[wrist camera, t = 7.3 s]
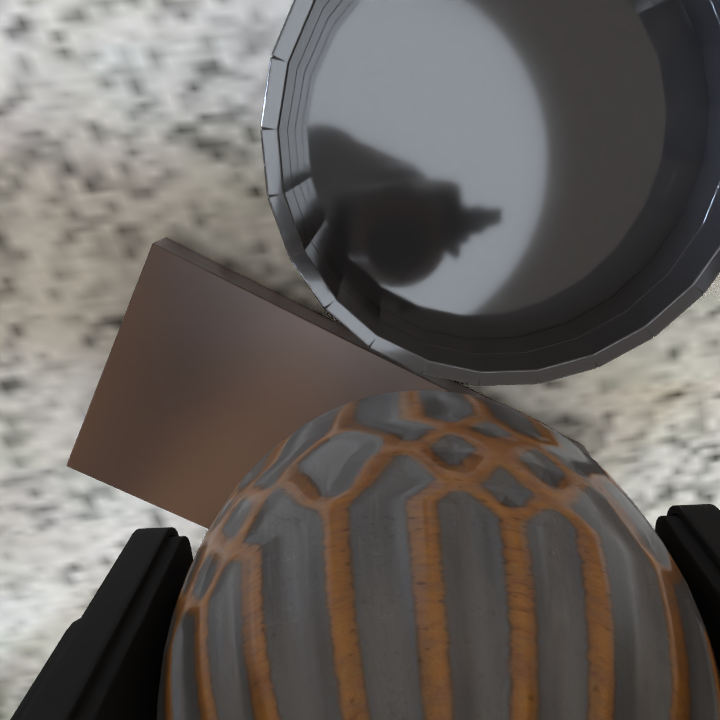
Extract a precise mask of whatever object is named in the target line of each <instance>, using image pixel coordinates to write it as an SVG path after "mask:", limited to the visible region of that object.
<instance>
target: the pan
mask: <svg viewBox="0 0 720 720" xmlns="http://www.w3.org/2000/svg"><path fill="white" fill-rule="evenodd" d="M261 128H262V129H261V141H262V151H263V161H264V171H265V181H266V191H267V196H269V197H268V200H269V203H270V206H271V209H272V212H273V214H274V217H275V220H276V223H277V225H278V228H279V231H280V234H281V236H282V239H283V242H284V245H285V247H286V250H287V253H288V256H289V257H290V260H291V261H292V263H293V264H294V266H295V267H296V268H297V270H298V271H299V273H300V274H301V276H302V277H303V279H304V280H305V282H306V283H307V285H308V286H309V287H310V289H311V290H312V292H313V293H314V295H315V296H316V298H317V299H318V301H319V302H320V303H321V305H322V306H323V308H325V310H326V311H327V312H329V313H330V314H331V315H332V316H333V317H334V318H336V319H337V320H338V321H339V322H340V323H341V324H342V325H344V326H345V327H346V328H347V329H348V330H349V331H350V332H352V333H353V334H354V335H355V336H356V337H357V338H359V339H360V340H361V341H362V342H363V343H364V344H365V345H367V346H368V347H370V349H372V350H374V351H376V352H378V353H381V354H383V355H385V356H387V357H389V358H391V359H393V360H395V361H397V362H399V363H401V364H403V365H405V366H407V367H409V368H411V369H413V370H415V371H417V372H419V373H423V374H426V375H430V376H435V377H439V378H444V379H449V380H453V381H458V382H463V383H467V384H472V385H479V386H492V385H524V384H538V383H544V382H548V381H551V380H555V379H559V378H562V377H566V376H570V375H573V374H577V373H581V372H584V371H588V370H592V369H595V368H597V367H600V366H602V365H604V364H606V363H608V362H609V361H611V360H613V359H615V358H617V357H619V356H621V355H622V354H624V353H626V352H628V351H630V350H632V349H634V348H635V347H637V346H639V345H641V344H643V343H645V342H647V341H648V340H650V339H652V338H653V337H655V336H656V335H657V334H659V333H660V332H661V331H662V330H663V329H664V328H666V327H667V326H668V325H669V324H670V323H671V322H672V321H674V320H675V319H676V318H677V317H678V316H679V315H680V314H682V313H683V312H684V311H685V310H686V309H687V308H689V307H690V306H691V305H692V304H693V303H694V302H695V301H697V300H698V299H699V298H700V297H701V296H702V295H703V293H705V292H706V291H707V289H708V288H709V287H710V285H711V284H712V283H713V281H714V280H715V279H716V277H717V276H718V274H719V273H720V0H294V1H293V3H292V6H291V8H290V11H289V13H288V15H287V18H286V20H285V23H284V25H283V28H282V30H281V32H280V35H279V37H278V40H277V42H276V45H275V47H274V49H273V52H272V57H271V58H270V65H269V72H268V78H267V85H266V92H265V99H264V106H263V113H262V119H261Z"/></svg>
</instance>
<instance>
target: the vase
mask: <svg viewBox="0 0 720 720" xmlns="http://www.w3.org/2000/svg"><path fill="white" fill-rule="evenodd" d="M156 720H720V672H719V668H718V665H717V662H716V659H715V655H714V652H713V649H712V646H711V643H710V639H709V636H708V633H707V630H706V627H705V625H704V622H703V620H702V618H701V615H700V613H699V611H698V608H697V606H696V604H695V601H694V599H693V597H692V594H691V592H690V590H689V587H688V585H687V583H686V581H685V579H684V578H683V576H682V574H681V572H680V570H679V569H678V567H677V565H676V564H675V562H674V560H673V559H672V557H671V555H670V553H669V552H668V550H667V548H666V547H665V545H664V543H663V542H662V541H661V539H660V538H659V536H658V535H657V533H656V532H655V530H654V529H653V528H652V526H651V525H650V524H649V522H648V521H647V520H646V518H645V517H644V515H643V514H642V513H641V511H640V510H639V509H638V507H637V506H636V505H635V504H634V502H633V501H632V500H631V499H630V498H629V497H628V495H627V494H626V493H625V492H624V491H623V490H622V488H621V487H620V486H619V485H618V484H617V483H616V482H615V481H614V479H613V478H612V477H611V476H610V475H609V474H608V473H607V472H606V471H605V470H604V469H603V468H602V467H601V466H600V465H599V464H598V463H597V462H596V461H595V460H593V459H592V458H591V457H590V456H589V455H587V454H586V453H585V452H584V451H583V450H581V449H580V448H578V447H577V446H576V445H574V444H573V443H572V442H570V441H569V440H568V439H566V438H565V437H563V436H562V435H560V434H559V433H558V432H556V431H555V430H553V429H552V428H550V427H548V426H546V425H545V424H543V423H541V422H539V421H538V420H535V419H533V418H531V417H529V416H527V415H525V414H523V413H521V412H519V411H517V410H514V409H512V408H510V407H507V406H505V405H502V404H500V403H497V402H494V401H490V400H487V399H484V398H480V397H476V396H471V395H467V394H461V393H454V392H446V391H433V390H415V391H401V392H393V393H386V394H380V395H376V396H371V397H367V398H363V399H360V400H357V401H353V402H350V403H348V404H345V405H342V406H340V407H337V408H335V409H333V410H331V411H328V412H326V413H324V414H322V415H320V416H319V417H317V418H315V419H313V420H311V421H310V422H308V423H307V424H305V425H304V426H302V427H301V428H299V429H298V430H296V431H295V432H293V433H292V434H291V435H289V436H288V437H286V438H285V439H284V440H282V441H281V442H280V443H279V444H277V445H276V446H275V447H274V448H272V449H271V450H270V451H269V452H268V453H267V454H266V455H265V456H264V457H263V458H262V459H261V460H260V461H259V462H258V463H257V464H256V465H255V466H254V467H253V468H252V469H251V470H250V471H249V472H248V474H247V475H246V476H245V477H244V478H243V479H242V480H241V481H240V483H239V484H238V485H237V486H236V488H235V489H234V490H233V492H232V493H231V494H230V496H229V497H228V498H227V500H226V502H225V503H224V505H223V507H222V508H221V510H220V512H219V513H218V515H217V517H216V518H215V520H214V521H213V523H212V525H211V526H210V528H209V530H208V531H207V533H206V535H205V537H204V540H203V542H202V544H201V546H200V548H199V550H198V552H197V554H196V556H195V558H194V560H193V562H192V564H191V566H190V568H189V571H188V573H187V576H186V579H185V581H184V584H183V587H182V589H181V592H180V595H179V597H178V600H177V603H176V606H175V608H174V611H173V615H172V619H171V623H170V627H169V631H168V636H167V640H166V645H165V649H164V654H163V661H162V667H161V675H160V683H159V691H158V701H157V719H156Z"/></svg>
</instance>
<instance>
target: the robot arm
mask: <svg viewBox="0 0 720 720" xmlns="http://www.w3.org/2000/svg"><path fill="white" fill-rule="evenodd" d="M655 532H656V533H657V535H658V536H659V538H660V539H661V541H662V542H663V543H664V545H665V547H666V548H667V550H668V552H669V553H670V555H671V557H672V559H673V560H674V562H675V564H676V565H677V567H678V569H679V570H680V572H681V574H682V576H683V578H684V579H685V581H686V583H687V585H688V587H689V590H690V592H691V594H692V597H693V599H694V601H695V604H696V606H697V608H698V611H699V613H700V615H701V618H702V620H703V622H704V625H705V627H706V630H707V633H708V636H709V639H710V643H711V646H712V649H713V652H714V655H715V659H716V662H717V665H718V668H719V672H720V510H719V509H718V508H717V507H716V506H714V505H711V504H699V505H676V506H672V507H670V508H669V510H668V512H667V516H660V517H658V519H657V521H656V526H655ZM192 562H193V556H192V551H191V546H190V542H189V539H188V538H187V537H186V536H179V535H178V532H177V531H176V529H175V528H173V527H168V528H145V529H137V530H136V531H135V532H134V533H133V534H132V536H131V537H130V539H129V541H128V542H127V544H126V545H125V547H124V549H123V550H122V552H121V554H120V555H119V557H118V559H117V560H116V562H115V563H114V565H113V567H112V568H111V570H110V572H109V573H108V575H107V576H106V578H105V580H104V581H103V583H102V585H101V586H100V588H99V589H98V591H97V593H96V594H95V596H94V598H93V599H92V601H91V602H90V604H89V606H88V607H87V609H86V611H85V612H84V614H83V615H82V617H81V618H80V619H78V620H76V621H75V622H73V623H72V624H71V625H70V627H69V628H68V629H67V630H66V632H65V633H64V635H63V637H62V638H61V640H60V641H59V643H58V645H57V646H56V648H55V649H54V651H53V653H52V654H51V656H50V657H49V659H48V661H47V662H46V664H45V665H44V667H43V668H42V670H41V672H40V673H39V675H38V676H37V678H36V680H35V681H34V683H33V684H32V686H31V688H30V689H29V691H28V692H27V694H26V696H25V697H24V699H23V700H22V702H21V704H20V705H19V707H18V708H17V710H16V711H15V713H14V715H13V716H12V718H11V719H10V720H156V719H157V701H158V691H159V683H160V675H161V667H162V661H163V654H164V649H165V645H166V640H167V636H168V631H169V627H170V623H171V619H172V615H173V611H174V608H175V606H176V603H177V600H178V597H179V595H180V592H181V589H182V587H183V584H184V581H185V579H186V576H187V573H188V571H189V568H190V566H191V564H192Z"/></svg>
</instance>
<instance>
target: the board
mask: <svg viewBox="0 0 720 720" xmlns="http://www.w3.org/2000/svg"><path fill="white" fill-rule="evenodd" d="M415 390H433V391H446V392H454V393H461V394H467V395H471V396H476V397H480V398H484V399H487V400H490V399H488V398H486V397H484V396H482V395H480V394H478V393H476V392H474V391H472V390H470V389H468V388H466V387H464V386H462V385H460V384H458V383H456V382H454V381H452V380H449V379H444V378H439V377H435V376H430V375H426V374H423V373H419V372H417V371H415V370H413V369H411V368H409V367H407V366H405V365H403V364H401V363H399V362H397V361H395V360H393V359H391V358H389V357H387V356H385V355H383V354H381V353H378V352H376V351H374V350H372V349H370V347H368V346H367V345H365V344H364V343H363V342H362V341H361V340H360V339H359V338H357V337H356V336H355V335H354V334H353V333H352V332H350V331H349V330H348V329H347V328H346V327H344V326H342V325H340V324H338V323H336V322H334V321H332V320H330V319H328V318H326V317H324V316H322V315H320V314H318V313H316V312H314V311H312V310H310V309H308V308H306V307H304V306H302V305H300V304H298V303H296V302H294V301H292V300H290V299H288V298H286V297H284V296H282V295H280V294H278V293H276V292H274V291H272V290H270V289H268V288H266V287H264V286H262V285H260V284H258V283H256V282H254V281H252V280H250V279H248V278H246V277H244V276H242V275H240V274H238V273H236V272H234V271H232V270H230V269H228V268H226V267H224V266H222V265H220V264H218V263H216V262H214V261H212V260H210V259H208V258H206V257H204V256H202V255H200V254H198V253H196V252H194V251H192V250H190V249H188V248H186V247H184V246H182V245H180V244H178V243H176V242H174V241H172V240H170V239H168V238H164V239H162V240H159V241H157V242H155V243H153V244H152V247H151V249H150V252H149V254H148V257H147V259H146V262H145V265H144V267H143V270H142V272H141V275H140V277H139V280H138V283H137V285H136V288H135V290H134V293H133V295H132V298H131V301H130V303H129V306H128V308H127V311H126V313H125V316H124V319H123V321H122V324H121V326H120V329H119V331H118V334H117V337H116V339H115V342H114V344H113V347H112V349H111V352H110V355H109V357H108V360H107V362H106V365H105V368H104V370H103V373H102V375H101V378H100V380H99V383H98V386H97V388H96V391H95V393H94V396H93V398H92V401H91V404H90V406H89V409H88V411H87V414H86V416H85V419H84V422H83V424H82V427H81V429H80V432H79V434H78V437H77V440H76V442H75V445H74V447H73V450H72V452H71V455H70V458H69V460H68V463H67V466H68V467H70V468H72V469H75V470H77V471H79V472H81V473H84V474H86V475H88V476H90V477H93V478H95V479H97V480H99V481H102V482H104V483H106V484H108V485H111V486H113V487H115V488H117V489H120V490H122V491H124V492H126V493H129V494H131V495H133V496H135V497H138V498H140V499H142V500H144V501H147V502H149V503H151V504H154V505H156V506H158V507H160V508H163V509H165V510H167V511H169V512H172V513H174V514H176V515H178V516H181V517H183V518H185V519H187V520H190V521H192V522H194V523H196V524H199V525H201V526H203V527H205V528H208V529H209V528H210V526H211V525H212V523H213V521H214V520H215V518H216V517H217V515H218V513H219V512H220V510H221V508H222V507H223V505H224V503H225V502H226V500H227V498H228V497H229V496H230V494H231V493H232V492H233V490H234V489H235V488H236V486H237V485H238V484H239V483H240V481H241V480H242V479H243V478H244V477H245V476H246V475H247V474H248V472H249V471H250V470H251V469H252V468H253V467H254V466H255V465H256V464H257V463H258V462H259V461H260V460H261V459H262V458H263V457H264V456H265V455H266V454H267V453H268V452H269V451H270V450H271V449H272V448H274V447H275V446H276V445H277V444H279V443H280V442H281V441H282V440H284V439H285V438H286V437H288V436H289V435H291V434H292V433H293V432H295V431H296V430H298V429H299V428H301V427H302V426H304V425H305V424H307V423H308V422H310V421H311V420H313V419H315V418H317V417H319V416H320V415H322V414H324V413H326V412H328V411H331V410H333V409H335V408H337V407H340V406H342V405H345V404H348V403H350V402H353V401H357V400H360V399H363V398H367V397H371V396H376V395H380V394H386V393H393V392H401V391H415ZM490 401H492V400H490ZM563 437H564V436H563ZM565 438H566V437H565ZM566 439H568V438H566ZM568 440H569V441H570V442H572V443H573V444H574V445H576V446H577V447H578V448H580V449H581V450H583V451H584V452H585V453H586V454H587V455H589V453H588V452H587V450H586V449H585V447H584V446H582V445H580V444H578V443H576V442H574V441H572V440H570V439H568ZM589 456H590V455H589Z"/></svg>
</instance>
